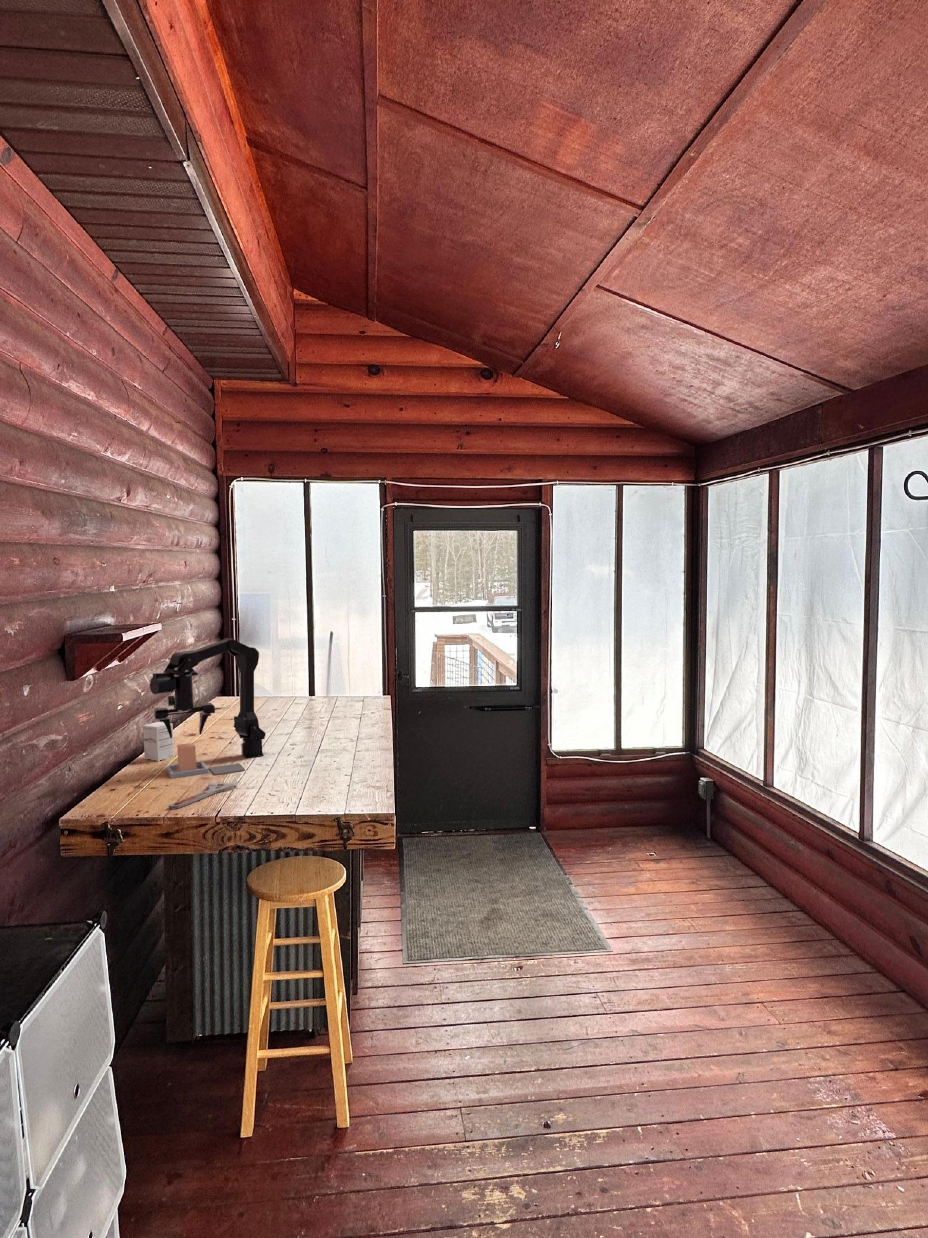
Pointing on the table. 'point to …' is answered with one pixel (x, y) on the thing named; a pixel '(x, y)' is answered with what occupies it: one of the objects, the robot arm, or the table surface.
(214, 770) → the place mat
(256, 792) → the table surface
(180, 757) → the block
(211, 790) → the adjustable wrench
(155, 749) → the supplement box
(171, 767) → the blue-grey square frame
